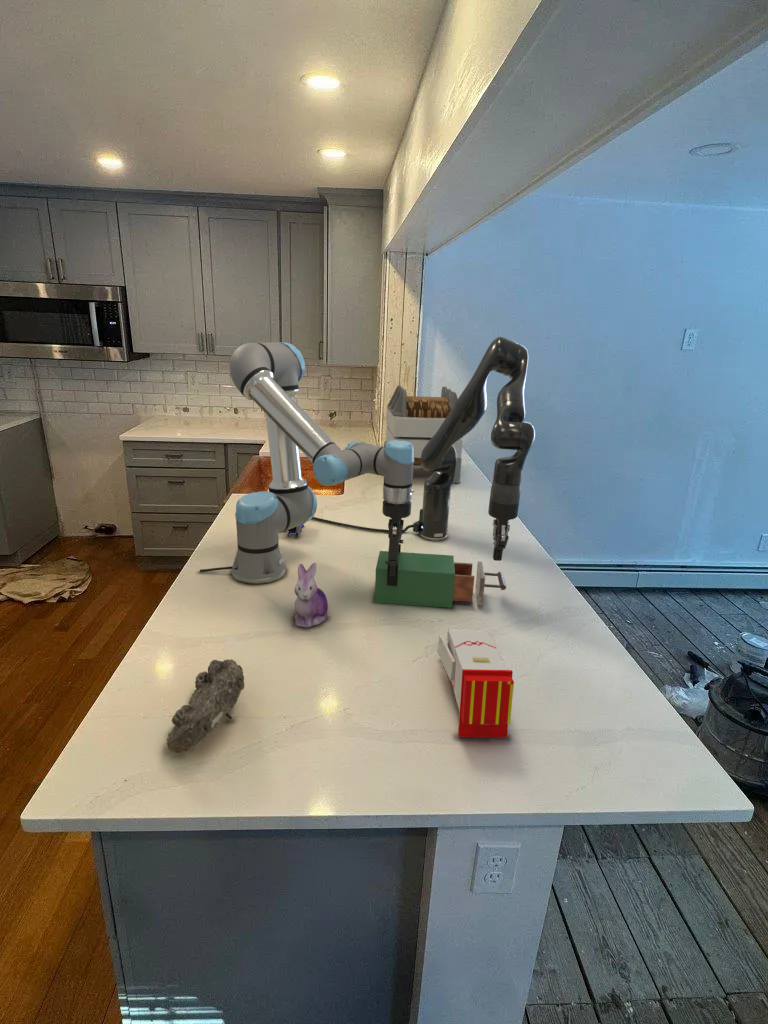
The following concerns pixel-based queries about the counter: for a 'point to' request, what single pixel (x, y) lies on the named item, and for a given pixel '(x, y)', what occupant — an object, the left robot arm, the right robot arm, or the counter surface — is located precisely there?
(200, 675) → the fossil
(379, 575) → the cabinet
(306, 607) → the figurine
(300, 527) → the figurine character
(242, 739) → the counter surface
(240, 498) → the left robot arm
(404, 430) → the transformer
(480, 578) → the drawer
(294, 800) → the counter surface
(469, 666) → the toy
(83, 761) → the counter surface
